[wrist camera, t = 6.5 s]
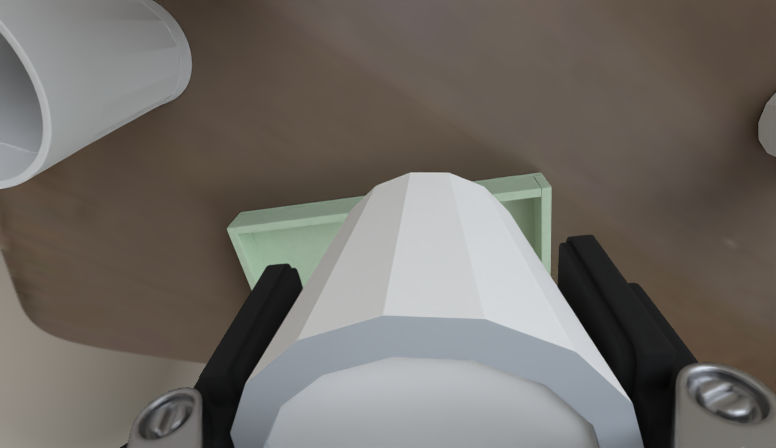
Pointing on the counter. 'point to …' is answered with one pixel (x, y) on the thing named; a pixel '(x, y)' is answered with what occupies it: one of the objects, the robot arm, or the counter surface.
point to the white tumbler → (768, 127)
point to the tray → (324, 219)
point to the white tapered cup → (432, 338)
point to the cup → (80, 75)
